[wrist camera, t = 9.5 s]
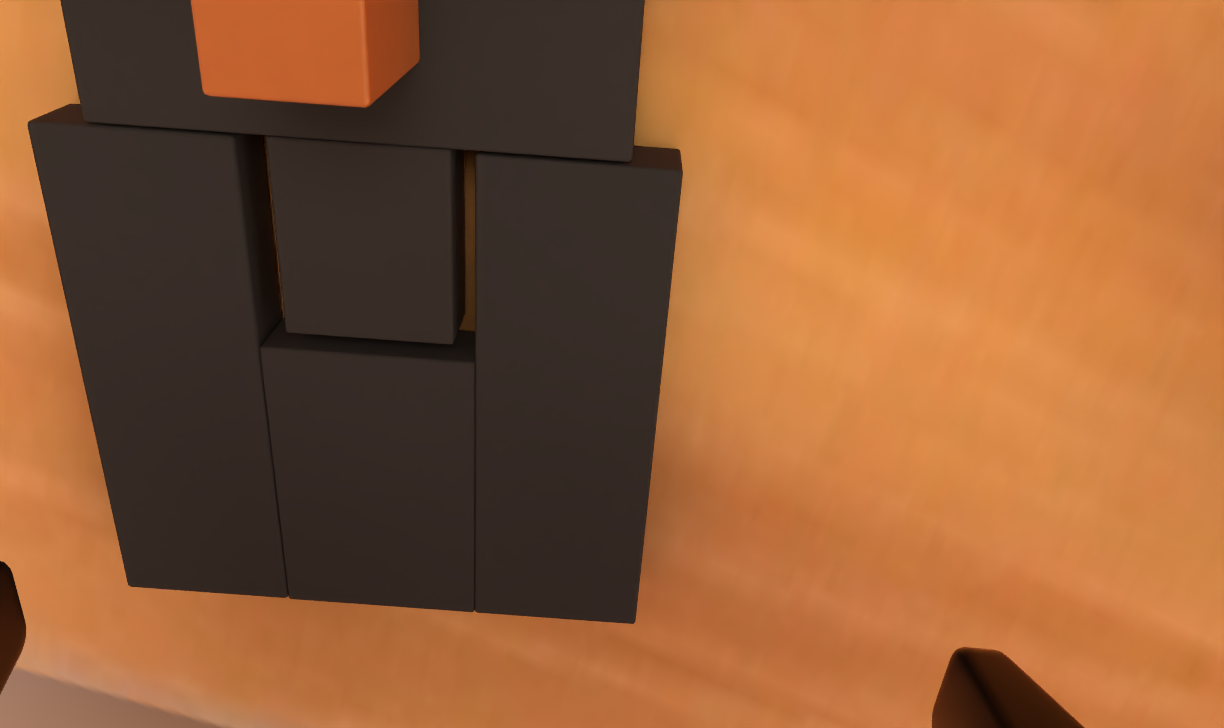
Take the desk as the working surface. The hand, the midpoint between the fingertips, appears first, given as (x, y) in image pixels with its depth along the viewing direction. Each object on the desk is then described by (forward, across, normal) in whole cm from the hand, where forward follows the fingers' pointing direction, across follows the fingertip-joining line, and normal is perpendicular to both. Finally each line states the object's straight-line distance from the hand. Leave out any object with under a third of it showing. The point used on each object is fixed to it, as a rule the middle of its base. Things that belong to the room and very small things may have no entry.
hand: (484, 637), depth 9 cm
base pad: (+12, +4, +4) cm, 13 cm away
